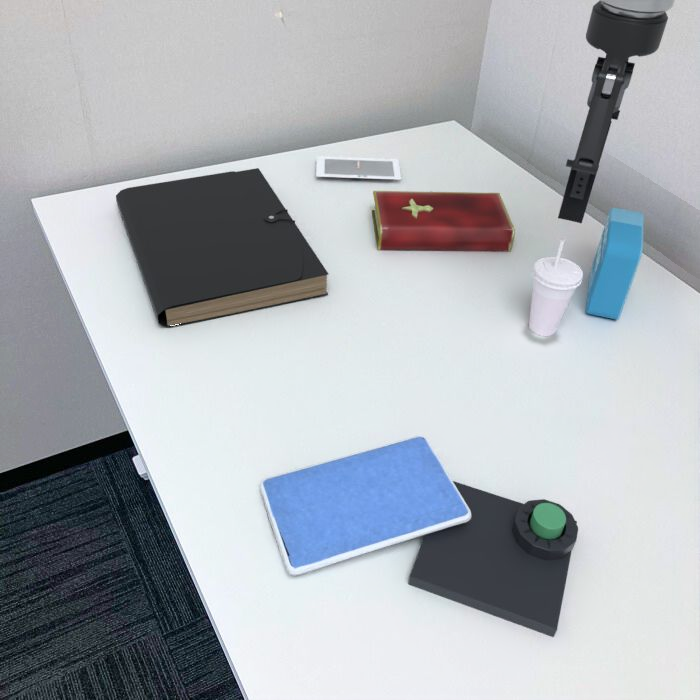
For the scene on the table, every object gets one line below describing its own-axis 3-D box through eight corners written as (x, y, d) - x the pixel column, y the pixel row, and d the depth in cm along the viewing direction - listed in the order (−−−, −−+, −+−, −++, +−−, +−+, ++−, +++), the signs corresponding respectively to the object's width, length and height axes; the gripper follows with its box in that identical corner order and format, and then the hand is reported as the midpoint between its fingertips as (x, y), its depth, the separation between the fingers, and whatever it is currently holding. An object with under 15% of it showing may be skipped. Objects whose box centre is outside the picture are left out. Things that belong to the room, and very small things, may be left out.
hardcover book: (510, 253, 117) (516, 229, 115) (377, 251, 116) (379, 228, 113) (495, 213, 126) (499, 191, 124) (371, 211, 125) (373, 189, 122)
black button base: (574, 528, 78) (581, 511, 76) (554, 638, 68) (561, 621, 66) (444, 486, 81) (448, 468, 79) (407, 584, 72) (411, 567, 70)
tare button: (564, 519, 75) (568, 508, 74) (559, 544, 73) (563, 533, 72) (532, 509, 76) (536, 498, 75) (526, 533, 74) (530, 522, 73)
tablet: (289, 581, 71) (288, 573, 70) (257, 485, 80) (256, 477, 79) (474, 524, 75) (475, 515, 75) (424, 440, 85) (424, 431, 84)
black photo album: (330, 271, 104) (155, 307, 96) (329, 295, 106) (159, 332, 99) (259, 165, 127) (113, 188, 119) (260, 187, 129) (118, 210, 122)
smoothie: (536, 307, 107) (559, 222, 98) (574, 329, 103) (602, 243, 94) (509, 326, 103) (531, 239, 94) (548, 349, 100) (574, 261, 91)
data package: (589, 272, 114) (611, 202, 107) (620, 278, 113) (644, 208, 106) (584, 317, 106) (607, 245, 98) (617, 324, 105) (643, 252, 97)
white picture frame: (316, 161, 138) (316, 150, 136) (397, 164, 138) (398, 153, 137) (315, 182, 132) (316, 170, 130) (400, 185, 132) (401, 173, 131)
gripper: (608, -28, 86) (563, 144, 100) (577, 35, 68) (528, 235, 82) (675, -18, 84) (620, 156, 98) (662, 50, 66) (597, 252, 80)
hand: (578, 193), depth 90 cm, fingers open, 13 cm apart
